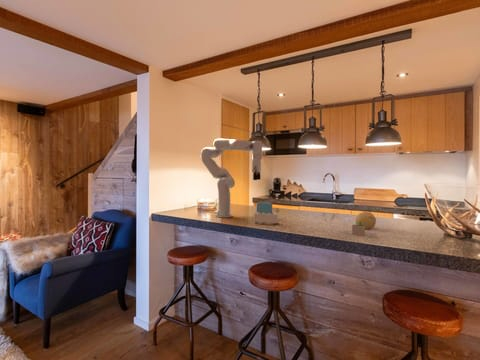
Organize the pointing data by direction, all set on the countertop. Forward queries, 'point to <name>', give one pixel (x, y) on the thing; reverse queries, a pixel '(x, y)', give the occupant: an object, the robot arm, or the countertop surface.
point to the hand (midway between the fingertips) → (256, 179)
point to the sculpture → (366, 220)
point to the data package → (264, 207)
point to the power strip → (266, 217)
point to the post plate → (265, 222)
